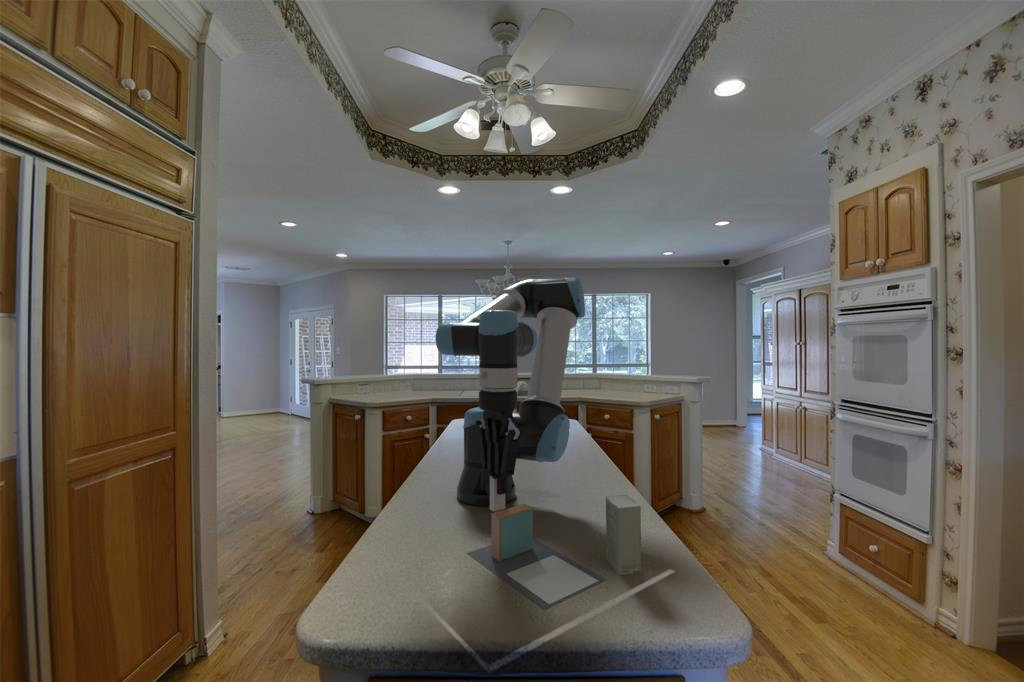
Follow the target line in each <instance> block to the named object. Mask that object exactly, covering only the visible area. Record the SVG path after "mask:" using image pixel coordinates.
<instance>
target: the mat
mask: <svg viewBox="0 0 1024 682" xmlns="http://www.w3.org/2000/svg"><path fill="white" fill-rule="evenodd" d="M466 554H467V555H468V556H469V557H471V558H472V559H473V560H475V561H477V562H478V563H479V564H481V566H483V567H484V568H486V569H487V570H489V571H490V572H491V573H492V574H494V575H495V576H497V577H498V578H500V579H501V580H503V581H504V582H505V583H506V584H507V585H509V586H511V587H512V588H513V589H515V591H517V592H519V593H520V594H522V596H524V597H526V598H527V599H528V600H530V601H531V602H532V603H534V604H535V605H536V606H537V607H539V608H541V610H543V611H545V610H547V609H550V608H552V607H554V606H557V604H560V603H562V602H564V601H566V600H568V599H570V598H572V597H575V596H576V595H579V594H581V593H582V592H585V591H587V590H588V589H591V588H593V587H595V586H597V585H599V584H601V583H603V582H605V581H607V580H608V579H607V578H605V577H603V576H601V575H600V574H598V573H596V572H594V571H592V570H591V569H589V568H587V567H585V566H583V565H582V564H580V563H578V562H576V561H575V560H572V559H571V558H569V557H567V556H565V555H564V554H562V553H560V552H559V551H556V550H555V549H553V548H552V547H550V546H548V545H546V544H544V543H542V542H540V541H538V540H537V539H535V538H533V549H531V550H529V551H526V552H523V553H521V554H518V555H515V556H513V557H510V558H507V559H504V560H502V561H497V560H496V559H494V558H493V557H492V556H491V544H490V545H487V546H484V547H480V548H478V549H475V550H472V551H468V552H466Z"/></svg>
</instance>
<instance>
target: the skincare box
mask: <svg viewBox="0 0 1024 682" xmlns="http://www.w3.org/2000/svg"><path fill="white" fill-rule="evenodd" d="M641 508H642V507H641V504H639V502H636V501H635V500H634V499H633V498H631V497H630V496H628V495H627V494H623V495H622V494H621V495H620V494H619V495H608V496H607V495H606V496H605V523H606V524H605V534H606V535H605V536H606V537H605V539H606V540H605V541H606V543H605V545H606V547H605V548H606V560H607V561H608V563H609V564H610V565H611V567H612V568H613V570H614V571H615V572H616V573H617V575H618V576H627V575H639V574H642V573H643V571H642V528H641V527H642V526H641V525H642V524H641V521H642V519H641V518H642V516H641V514H642V513H641V511H642V509H641Z"/></svg>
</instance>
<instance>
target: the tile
mask: <svg viewBox="0 0 1024 682" xmlns="http://www.w3.org/2000/svg"><path fill="white" fill-rule="evenodd" d="M490 517H491V518H490V519H491V527H490V528H491V531H490V532H491V542H490V543H491V544H490V545H491V556H492V557H493V558H494V559H496V560H497V561H502V560H504V559H507V558H510V557H513V556H515V555H518V554H521V553H523V552H526V551H529V550H531V549H533V539H534V507H532V506H531V505H528V504H527V503H523V504H520V505H515V506H513V507H509V508H505V509H502V510H498V511H494V512H492V513H491V516H490Z"/></svg>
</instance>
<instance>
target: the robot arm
mask: <svg viewBox="0 0 1024 682" xmlns="http://www.w3.org/2000/svg"><path fill="white" fill-rule="evenodd" d="M585 315H586V302H585V294H584V288H583V284H582V282H581V280H580V279H578V277H567V276H565V277H563V278H561V277H560V278H557V277H556V278H555V277H554V278H531V279H524V280H521V281H519V282H516V283H513V284H512V285H509V286H507V287H505V288H504V289H502V290H500V291H499V292H497V294H496V295H495V297H494V299H493V300H491V301H489V302H488V303H487V304H485V305H484V306H482V307H481V308H479V309H478V310H476V311H474V312H473V313H471V314H469V315H468V316H466V317H465V318H464V319H462V320H460V321H457V322H454V321H450V322H443V323H440V325H438V327H437V329H436V332H435V346H436V348H437V350H438V352H439V353H440V354H442V355H446V356H454V357H459V356H461V357H463V356H464V357H479V363H478V364H479V365H478V366H479V369H478V376H479V377H478V380H479V381H478V383H479V385H478V386H479V387H480V388H481V389H480V390H479V391H478V406H477V407H473V408H470V409H468V410H467V411H466V412H465V413H464V416H463V417H464V419H463V427H462V428H463V468H462V471H461V475H460V477H459V480H458V484H457V487H456V498H457V500H459V501H460V502H462V503H464V504H467V505H471V506H477V507H478V506H479V507H481V506H482V507H484V506H485V507H488V506H489V510H490V511H492V512H498V511H502V510H505V509H506V504H507V503H509V502H512V501H513V500H514V498H516V484H515V482H514V479H513V476H514V475H515V470H516V465H517V464H516V462H517V460H526V461H533V462H538V463H556V462H558V461H559V460H560V459H562V457H563V456H564V453H565V452H566V449H567V445H568V442H569V437H570V428H571V427H570V425H571V424H570V418H569V417H568V415H566V413H565V412H566V411H565V408H564V407H563V406H562V405H561V397H562V392H563V391H562V390H563V385H564V376H565V368H566V363H567V358H568V357H567V356H568V348H569V343H570V337H571V336H570V335H571V329H573V328H574V327H576V326H577V324H578V319H582V318H584V317H585ZM526 318H527V319H529V318H531V319H533V318H534V319H536V320H537V322H538V323H539V324H540V325H539V331H538V335H537V333H536V331H535V329H534V328H533V327H532V326H531V325H530V324H528V323H525V322H524V321H520V322H519V321H518V320H520V319H526ZM534 350H535V354H534V358H533V364H532V370H531V373H530V374H531V376H530V380H529V386H528V391H527V397H526V398H525V399H523V400H521V402H520V404H519V407H518V391H517V390H516V388H518V358H519V357H520V358H523V357H525V356H527V355H529V354H531V353H532V352H533V351H534ZM517 407H518V411H514V410H516V409H517Z"/></svg>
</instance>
